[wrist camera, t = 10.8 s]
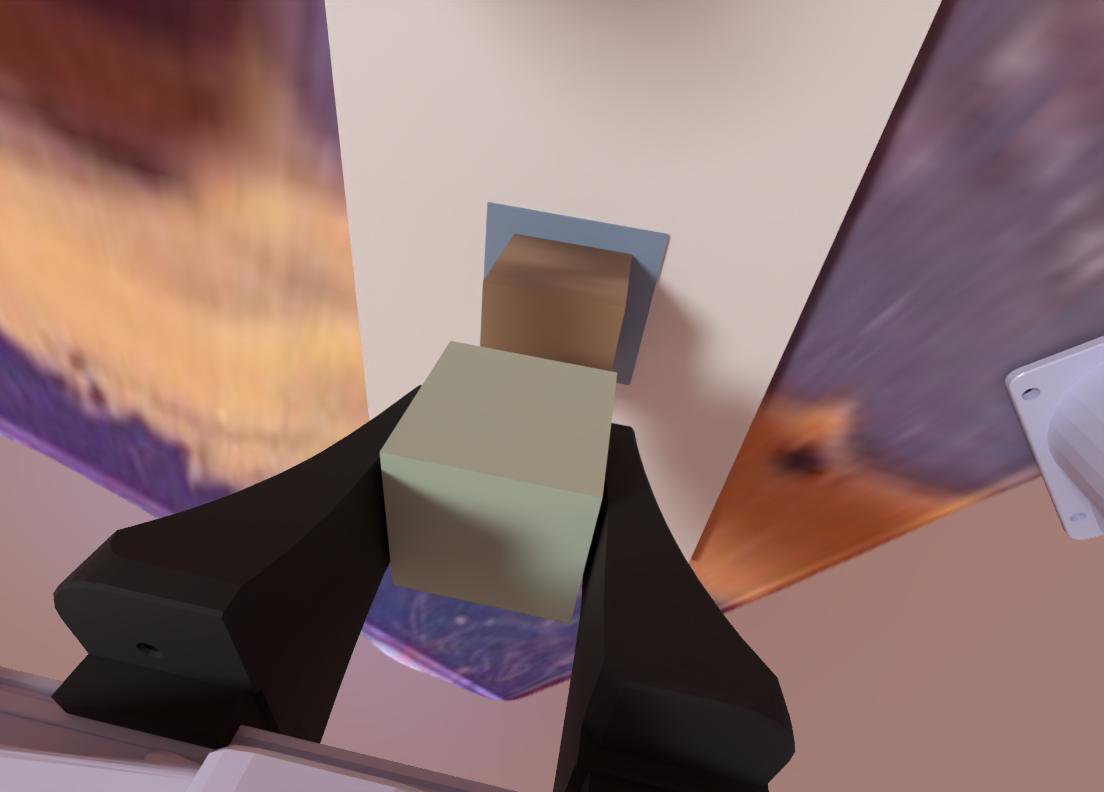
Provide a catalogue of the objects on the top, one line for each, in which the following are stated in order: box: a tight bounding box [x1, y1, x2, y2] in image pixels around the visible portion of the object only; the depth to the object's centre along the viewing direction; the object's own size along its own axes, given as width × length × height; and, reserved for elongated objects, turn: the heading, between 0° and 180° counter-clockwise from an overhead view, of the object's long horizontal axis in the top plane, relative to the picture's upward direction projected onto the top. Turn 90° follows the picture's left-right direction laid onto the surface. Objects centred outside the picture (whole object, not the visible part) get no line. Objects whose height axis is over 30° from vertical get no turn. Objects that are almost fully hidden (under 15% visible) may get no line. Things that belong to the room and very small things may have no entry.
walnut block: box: [480, 234, 632, 371], centre depth 17 cm, size 4×4×4 cm
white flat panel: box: [325, 0, 942, 563], centre depth 20 cm, size 16×26×1 cm, turn 173°
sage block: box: [380, 341, 617, 624], centre depth 12 cm, size 4×4×4 cm
